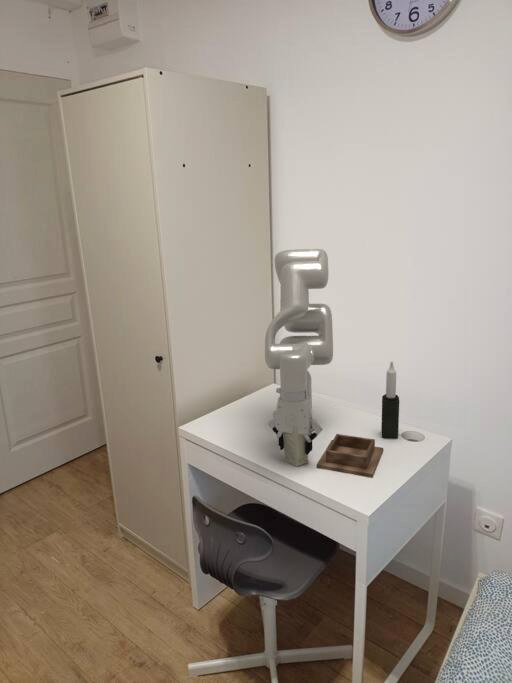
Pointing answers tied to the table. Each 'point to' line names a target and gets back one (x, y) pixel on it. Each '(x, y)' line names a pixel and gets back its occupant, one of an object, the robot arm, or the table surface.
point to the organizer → (351, 455)
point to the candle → (390, 406)
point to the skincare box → (294, 448)
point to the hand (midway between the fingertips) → (295, 449)
